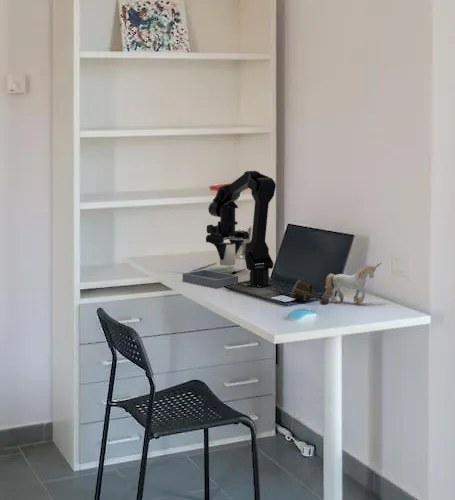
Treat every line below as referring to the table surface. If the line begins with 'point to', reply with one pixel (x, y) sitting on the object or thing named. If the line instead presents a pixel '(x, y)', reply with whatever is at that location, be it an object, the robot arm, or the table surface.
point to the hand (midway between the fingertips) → (227, 258)
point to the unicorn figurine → (349, 283)
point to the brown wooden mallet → (306, 292)
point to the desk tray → (210, 278)
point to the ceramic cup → (229, 255)
